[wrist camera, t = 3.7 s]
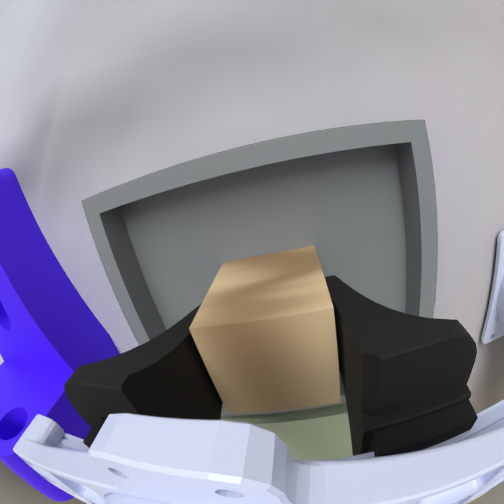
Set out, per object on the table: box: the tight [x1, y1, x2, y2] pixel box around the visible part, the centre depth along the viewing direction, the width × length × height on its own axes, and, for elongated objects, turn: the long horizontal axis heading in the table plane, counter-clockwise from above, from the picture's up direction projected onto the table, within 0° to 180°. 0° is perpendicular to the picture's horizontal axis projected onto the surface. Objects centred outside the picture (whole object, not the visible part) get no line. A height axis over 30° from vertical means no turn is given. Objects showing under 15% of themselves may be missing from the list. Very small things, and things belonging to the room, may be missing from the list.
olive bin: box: [221, 403, 353, 460], centre depth 16 cm, size 14×13×2 cm
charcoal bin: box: [82, 120, 438, 416], centre depth 12 cm, size 14×13×2 cm
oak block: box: [189, 245, 341, 413], centre depth 10 cm, size 4×4×5 cm
